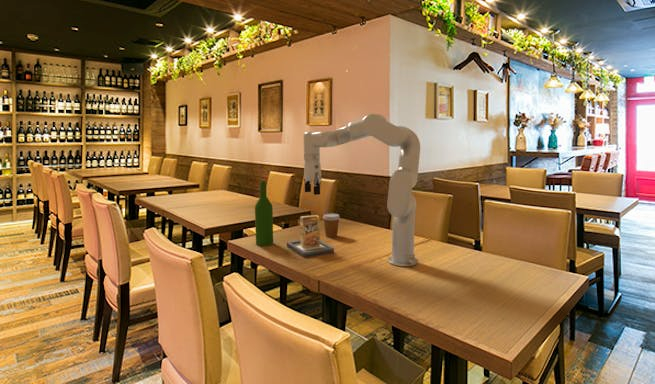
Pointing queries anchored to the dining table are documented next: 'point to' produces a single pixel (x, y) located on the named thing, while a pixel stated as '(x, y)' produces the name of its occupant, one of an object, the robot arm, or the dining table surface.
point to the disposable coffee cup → (331, 224)
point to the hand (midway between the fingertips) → (312, 193)
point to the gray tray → (310, 249)
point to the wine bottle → (263, 219)
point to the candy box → (310, 231)
